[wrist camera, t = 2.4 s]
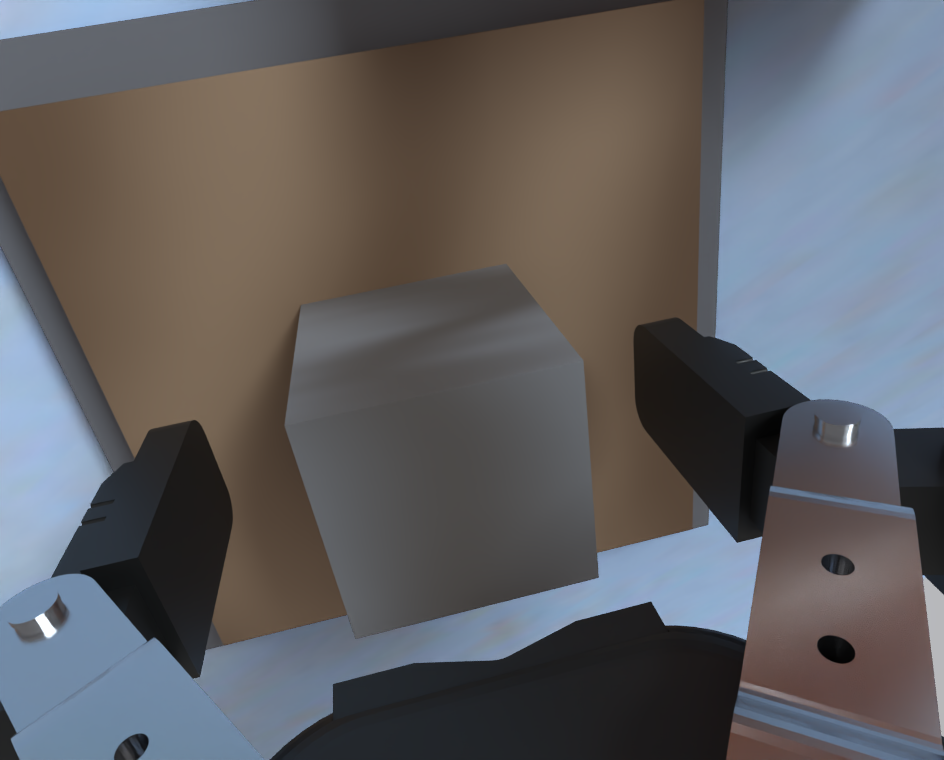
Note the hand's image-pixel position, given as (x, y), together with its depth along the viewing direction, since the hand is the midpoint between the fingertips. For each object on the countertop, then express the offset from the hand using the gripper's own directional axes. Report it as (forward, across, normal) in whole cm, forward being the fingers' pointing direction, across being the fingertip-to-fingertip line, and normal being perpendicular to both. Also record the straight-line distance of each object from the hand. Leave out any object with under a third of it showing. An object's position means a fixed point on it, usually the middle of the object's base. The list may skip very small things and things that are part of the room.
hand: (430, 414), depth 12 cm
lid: (+3, 0, 0) cm, 3 cm away
